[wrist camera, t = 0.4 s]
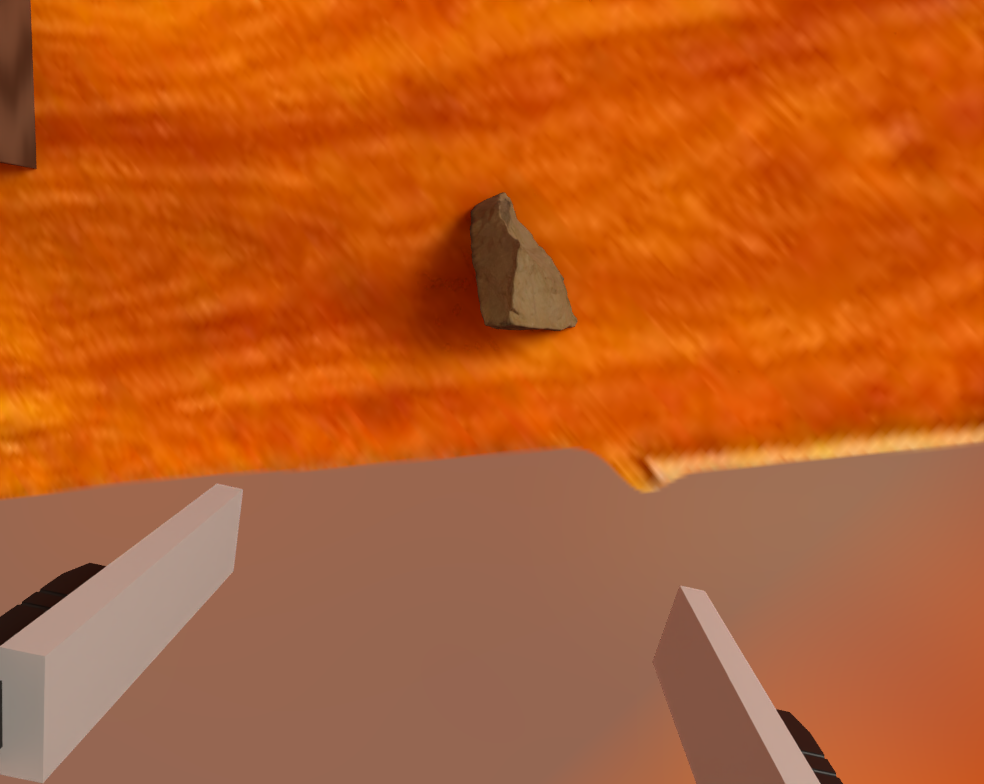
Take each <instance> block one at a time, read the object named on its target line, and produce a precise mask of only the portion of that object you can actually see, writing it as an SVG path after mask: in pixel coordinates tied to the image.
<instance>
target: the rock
mask: <svg viewBox="0 0 984 784" xmlns="http://www.w3.org/2000/svg"><path fill="white" fill-rule="evenodd" d="M470 236H471V250H472V261H473V266H474V269H475V272H476V281H477V287H478V297H479V302H480V310H481V313H482V317H483V319H484V322H485V325H486V326H490V327H492V328H495V329H506V330H529V329H535V330H537V329H544V330H554V331H560V330H563V329H566V328H569V327H575V325H576V323H577V318H576V317H575V316H574V315H573V313H572V310H571V306H570V302H569V300H568V297H567V291H566V288H565V285H564V283H563V280H564V278H563V277H562V275H561V274H560V273H559V271H558V270H557V268H556V266H555V265H554V263H553V261H552V259H551V258H550V256H548V255H547V254H546V252H545V251H544V249H543V248H542V247H540V246H538V244H537V243H536V241H535V240H534V239H533V236H532V234H531V233H530V232H529V231H528V230H527V229H526V228H525V227H524V226H523V225H522V224H521V223H520V222H519V221H518V220H517V218H516V214H515V211H514V209H513V204H512V202H511V200H510V198H509V197H508V196H507V195H506V193H500V194H498V195H496V196H494V197H492V198H489V199H486V200H484V201H483V202H481V203H479V204H478V205H476V206H475V207H474V209H473V210H472V211H471V226H470Z"/></svg>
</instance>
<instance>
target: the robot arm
mask: <svg viewBox="0 0 984 784" xmlns="http://www.w3.org/2000/svg"><path fill="white" fill-rule="evenodd" d="M242 494H243V489H240V488H235V487H231V486H226V485H222V484H218V483H217V484H216V485H214V486H213V487H212V488H210V489H209V490H208V491H206V492H205V493H204V494H202V495H201V496H200V497H198V498H197V499H196V500H194V501H193V502H192V503H190V504H189V505H188V506H186V507H185V508H184V509H182V510H181V511H180V512H178V513H177V514H176V515H174V516H173V517H172V518H170V519H169V520H168V521H166V522H165V523H164V524H162V525H161V526H160V527H158V528H157V529H156V530H154V531H153V532H152V533H150V534H149V535H148V536H146V537H145V538H144V539H142V540H141V541H140V542H138V543H137V544H136V545H134V546H133V547H132V548H130V549H129V550H128V551H126V552H125V553H124V554H122V555H121V556H120V557H118V558H117V559H116V560H114V561H113V562H112V563H110V564H109V565H108V566H102V565H98V564H93V563H88V564H86V565H83V566H81V567H78V568H76V569H73V570H71V571H68V572H66V573H63V574H61V575H60V576H58V577H57V578H56V579H54V580H53V581H51V582H50V583H48V584H47V585H45V586H44V587H43V588H41V590H40V592H35V593H34V594H32V595H31V596H30V597H28V598H27V599H25V600H24V601H23V602H22V604H21V605H17V606H15V607H14V608H12V609H11V610H9V611H8V612H7V613H5V614H4V615H2V616H1V617H0V774H1V775H5V776H10V777H15V778H20V779H25V780H30V781H35V782H39V783H43V782H44V781H45V780H46V779H47V778H48V777H49V776H50V775H51V773H52V772H53V771H54V770H55V769H56V768H57V767H58V766H59V764H61V762H62V761H63V760H64V759H65V758H66V757H67V756H68V755H69V754H70V752H71V751H72V750H73V749H74V748H75V747H76V746H77V745H78V743H79V742H80V741H81V740H82V739H83V738H84V737H85V736H86V734H87V733H88V732H89V731H90V730H91V729H92V728H93V727H94V726H95V724H96V723H97V722H98V721H99V720H100V719H101V718H102V717H103V716H104V715H105V713H106V712H107V711H108V710H109V709H110V708H111V707H112V706H113V705H114V703H115V702H116V701H117V700H118V699H119V698H120V697H121V696H122V695H123V693H124V692H125V691H126V690H127V689H128V688H129V687H130V686H131V685H132V683H133V682H134V681H135V680H136V679H137V678H138V677H139V676H140V674H141V673H142V672H143V671H144V670H145V669H146V668H147V667H148V665H149V664H150V663H151V662H152V661H153V660H154V659H155V658H156V657H157V656H158V654H159V653H160V652H161V651H162V650H163V649H164V648H165V647H166V645H167V644H168V643H169V642H170V641H171V640H172V639H173V638H174V636H176V634H177V633H178V632H179V631H180V630H181V629H182V628H183V627H184V626H185V624H186V623H187V622H188V621H189V620H190V619H191V618H192V617H193V615H194V614H195V613H196V612H197V611H198V610H199V609H200V608H201V607H202V605H203V604H204V603H205V602H206V601H207V600H208V599H209V598H210V597H211V595H212V594H213V593H214V592H215V591H216V590H217V589H218V588H219V586H220V585H221V584H222V583H223V582H224V581H225V580H226V579H227V577H228V576H229V575H230V574H231V573H232V572H233V570H234V562H235V554H236V545H237V536H238V528H239V519H240V511H241V502H242ZM653 665H654V667H655V670H656V673H657V676H658V679H659V681H660V684H661V687H662V690H663V692H664V695H665V698H666V701H667V704H668V706H669V709H670V712H671V714H672V717H673V720H674V723H675V726H676V728H677V731H678V734H679V737H680V739H681V742H682V745H683V748H684V751H685V753H686V756H687V759H688V761H689V764H690V767H691V770H692V773H693V775H694V778H695V781H696V784H843V783H842V782H841V780H840V779H839V778H837V777H836V773H835V771H834V769H833V768H832V766H831V765H830V763H829V762H828V760H827V759H825V758H824V754H823V752H822V751H821V749H820V747H819V746H818V744H817V743H816V741H815V740H814V738H813V737H812V735H811V734H810V732H809V731H808V730H807V729H806V728H805V727H804V726H802V724H801V723H800V722H799V721H798V720H797V719H796V718H795V717H794V716H793V715H792V714H791V713H790V712H786V711H782V710H777V709H775V707H774V705H773V704H772V702H771V701H770V699H769V697H768V696H767V694H766V692H765V690H764V689H763V687H762V685H761V684H760V682H759V680H758V679H757V677H756V675H755V674H754V672H753V671H752V669H751V667H750V666H749V664H748V662H747V660H746V659H745V657H744V655H743V654H742V652H741V650H740V649H739V647H738V645H737V644H736V642H735V640H734V639H733V637H732V635H731V634H730V632H729V630H728V629H727V627H726V625H725V624H724V622H723V620H722V619H721V617H720V616H719V614H718V612H717V610H716V609H715V607H714V605H713V604H712V602H711V600H710V599H709V597H708V595H707V594H706V592H705V591H703V590H698V589H694V588H689V587H685V586H679V589H678V592H677V595H676V597H675V600H674V603H673V606H672V609H671V611H670V614H669V617H668V620H667V623H666V625H665V628H664V631H663V634H662V637H661V639H660V642H659V645H658V648H657V651H656V653H655V656H654V659H653Z"/></svg>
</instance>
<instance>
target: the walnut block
mask: <svg viewBox="0 0 984 784" xmlns="http://www.w3.org/2000/svg"><path fill="white" fill-rule="evenodd" d="M0 163H6V164H12V165H17V166H23V167H29V168H35V169H36V142H35V114H34V87H33V60H32V32H31V5H30V0H0Z"/></svg>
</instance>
